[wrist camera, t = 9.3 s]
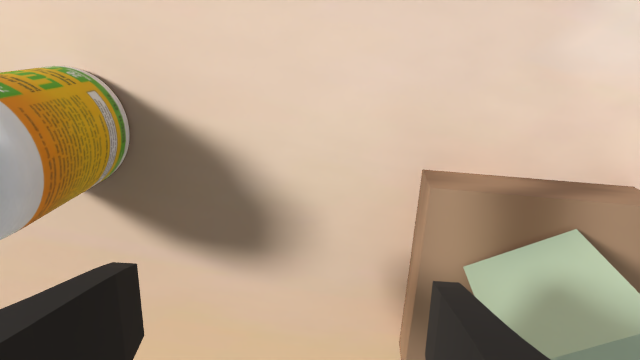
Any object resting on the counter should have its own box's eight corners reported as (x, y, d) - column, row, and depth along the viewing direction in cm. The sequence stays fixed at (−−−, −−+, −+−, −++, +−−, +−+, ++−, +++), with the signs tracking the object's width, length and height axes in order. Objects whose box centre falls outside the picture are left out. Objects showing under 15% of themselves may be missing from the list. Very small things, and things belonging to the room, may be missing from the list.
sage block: (576, 229, 18) (670, 324, 13) (605, 321, 20) (703, 446, 14) (462, 266, 19) (503, 372, 14) (497, 352, 21) (548, 481, 15)
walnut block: (628, 183, 21) (670, 208, 18) (580, 355, 24) (610, 400, 21) (421, 166, 21) (430, 187, 19) (398, 336, 24) (403, 378, 21)
